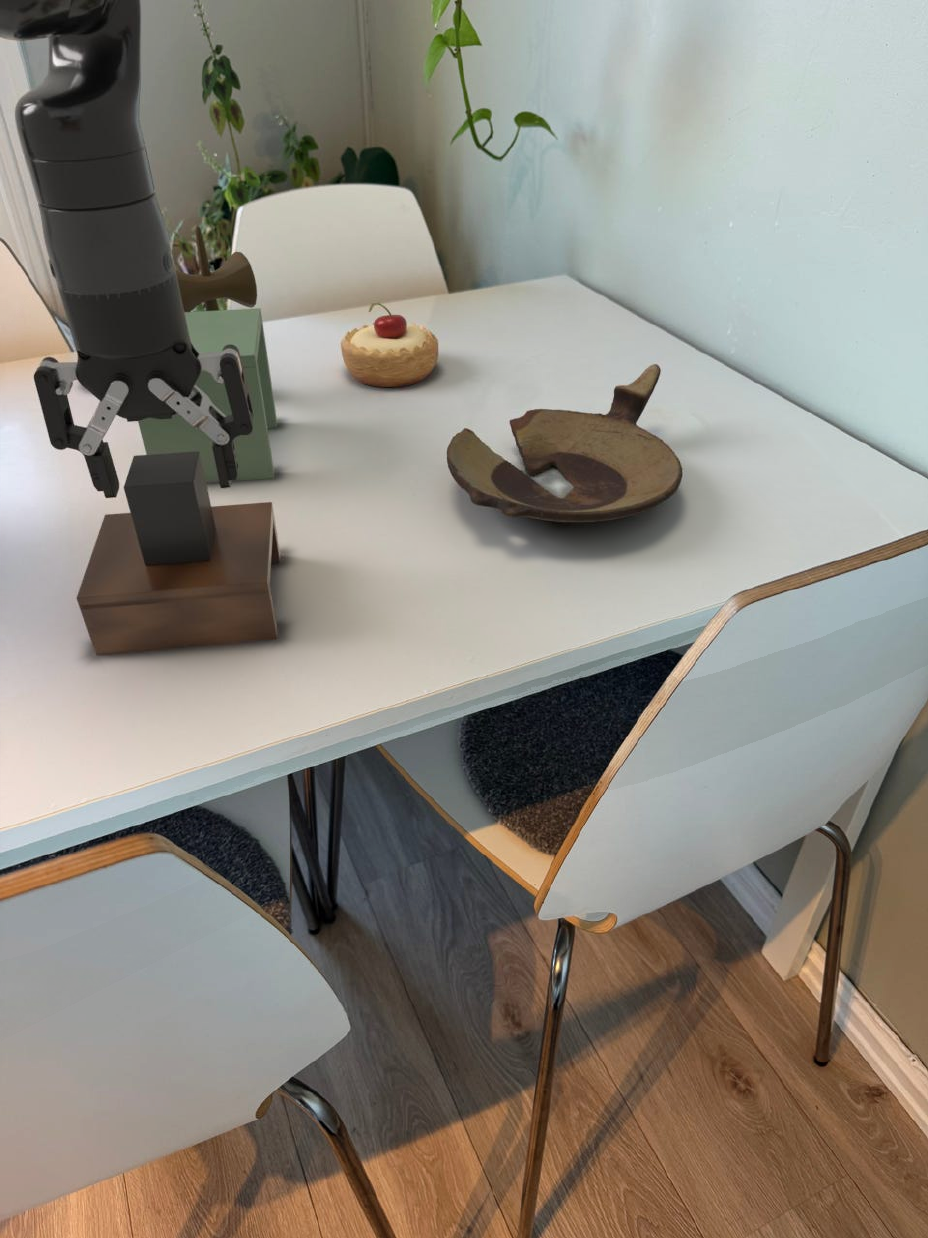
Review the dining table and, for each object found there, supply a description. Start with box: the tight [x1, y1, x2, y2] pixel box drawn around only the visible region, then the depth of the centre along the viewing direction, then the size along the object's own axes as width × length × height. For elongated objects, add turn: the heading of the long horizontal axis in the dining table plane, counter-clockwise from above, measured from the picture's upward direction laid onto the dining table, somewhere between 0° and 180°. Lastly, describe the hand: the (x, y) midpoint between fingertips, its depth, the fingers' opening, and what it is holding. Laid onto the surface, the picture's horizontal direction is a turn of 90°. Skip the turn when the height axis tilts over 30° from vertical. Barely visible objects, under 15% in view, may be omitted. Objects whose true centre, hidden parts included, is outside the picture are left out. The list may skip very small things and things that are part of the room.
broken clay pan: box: [446, 363, 683, 523], centre depth 88 cm, size 22×30×8 cm
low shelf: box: [76, 501, 282, 656], centre depth 73 cm, size 14×12×6 cm
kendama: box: [176, 225, 258, 312], centre depth 101 cm, size 6×10×20 cm, turn 124°
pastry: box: [340, 301, 439, 388], centre depth 110 cm, size 12×12×9 cm
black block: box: [123, 451, 215, 566], centre depth 69 cm, size 5×5×7 cm
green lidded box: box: [137, 307, 278, 484], centre depth 92 cm, size 12×13×14 cm
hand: (170, 488), depth 68 cm, fingers open, 8 cm apart
